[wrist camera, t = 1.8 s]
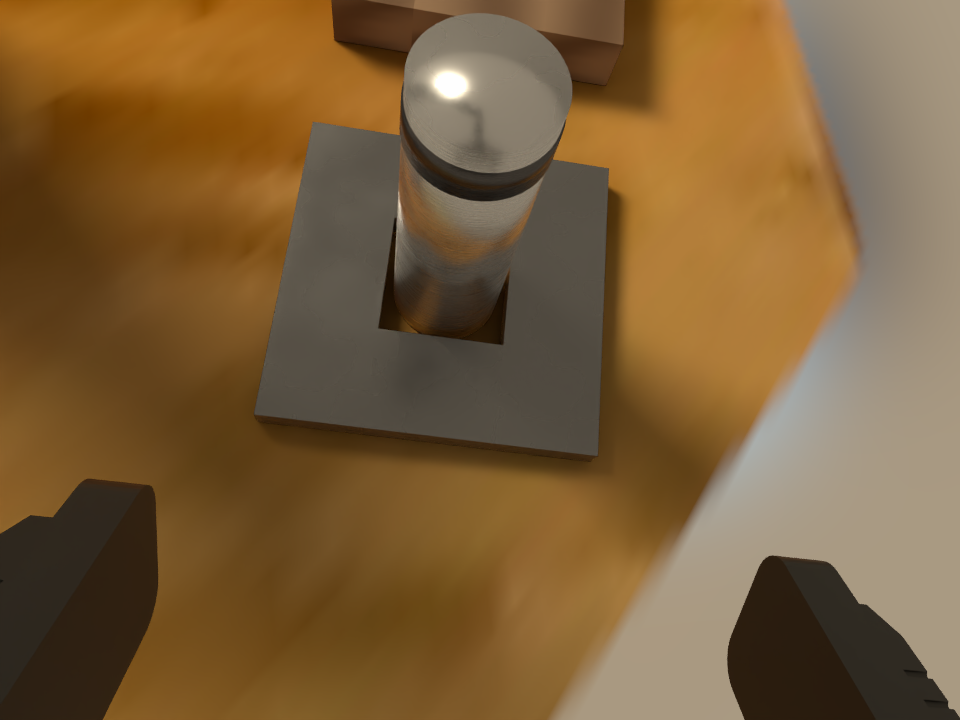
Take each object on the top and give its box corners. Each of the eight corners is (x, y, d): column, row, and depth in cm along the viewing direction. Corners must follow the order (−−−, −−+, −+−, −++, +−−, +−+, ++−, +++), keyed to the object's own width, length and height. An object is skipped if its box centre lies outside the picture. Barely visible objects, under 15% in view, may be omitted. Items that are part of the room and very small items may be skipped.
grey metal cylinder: (385, 333, 28) (391, 139, 17) (399, 236, 29) (413, -2, 18) (493, 347, 28) (569, 167, 17) (501, 251, 30) (578, 27, 18)
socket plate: (258, 421, 26) (253, 414, 25) (315, 137, 30) (313, 121, 29) (590, 461, 27) (597, 455, 26) (601, 181, 31) (608, 168, 30)
